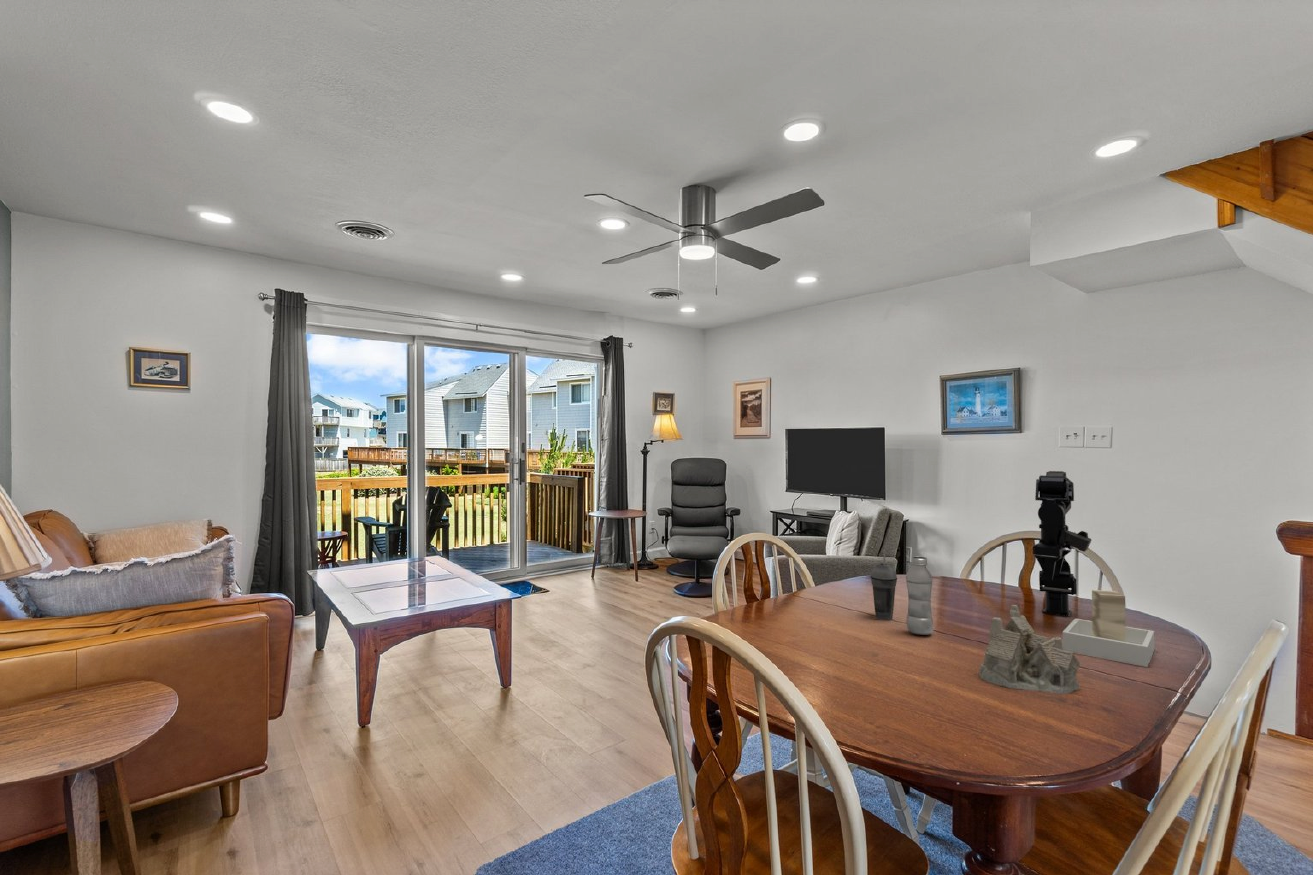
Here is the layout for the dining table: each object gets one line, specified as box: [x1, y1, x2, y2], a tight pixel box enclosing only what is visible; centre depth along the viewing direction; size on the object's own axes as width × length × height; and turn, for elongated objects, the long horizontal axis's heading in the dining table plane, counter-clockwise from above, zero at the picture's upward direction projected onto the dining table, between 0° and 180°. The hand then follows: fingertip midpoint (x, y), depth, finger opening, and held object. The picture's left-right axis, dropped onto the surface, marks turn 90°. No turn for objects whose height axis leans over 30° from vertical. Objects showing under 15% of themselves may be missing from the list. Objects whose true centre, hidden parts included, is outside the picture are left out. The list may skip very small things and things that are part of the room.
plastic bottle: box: [905, 556, 935, 636], centre depth 161 cm, size 6×7×20 cm
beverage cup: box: [870, 548, 898, 621], centre depth 176 cm, size 7×7×20 cm
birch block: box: [1091, 589, 1127, 642], centre depth 148 cm, size 5×5×13 cm
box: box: [1062, 618, 1155, 668], centre depth 148 cm, size 16×16×4 cm
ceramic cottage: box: [978, 604, 1081, 694], centre depth 129 cm, size 16×16×15 cm
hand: (1053, 577), depth 168 cm, fingers open, 9 cm apart
